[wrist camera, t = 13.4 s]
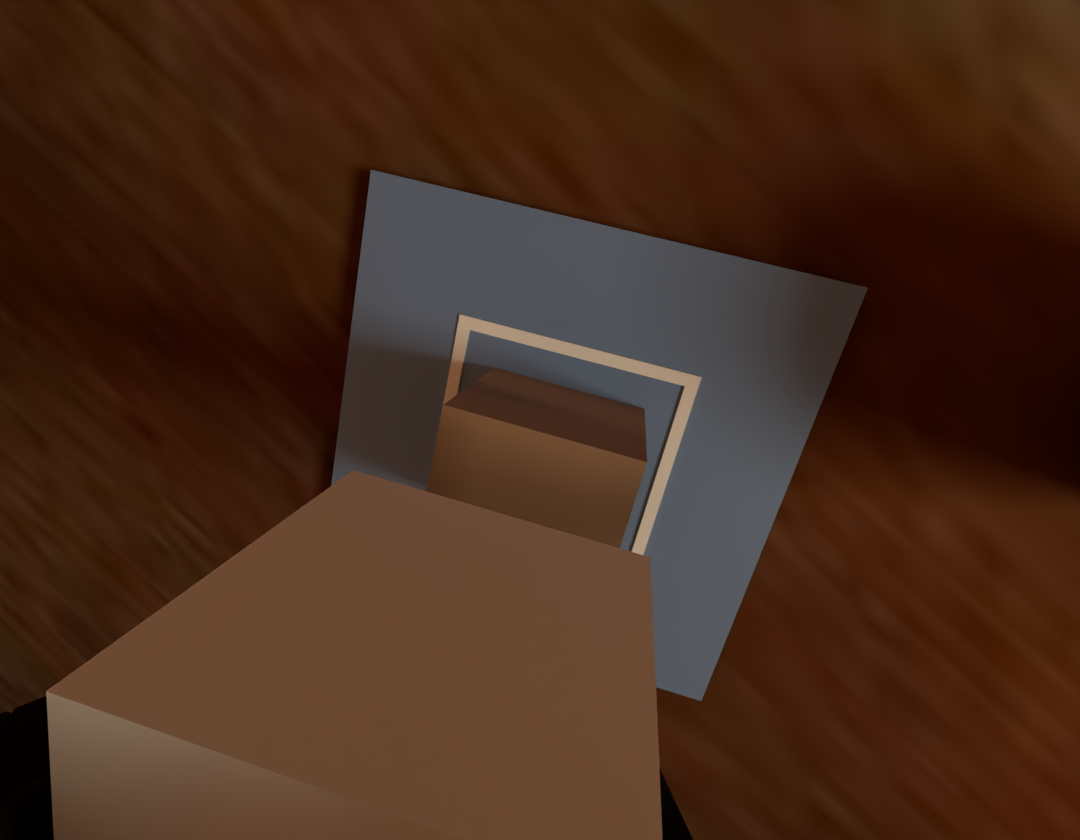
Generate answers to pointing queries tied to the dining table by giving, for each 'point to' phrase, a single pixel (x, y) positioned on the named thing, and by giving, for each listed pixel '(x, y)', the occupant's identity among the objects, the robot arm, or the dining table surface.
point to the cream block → (375, 688)
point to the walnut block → (542, 454)
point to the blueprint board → (600, 374)
